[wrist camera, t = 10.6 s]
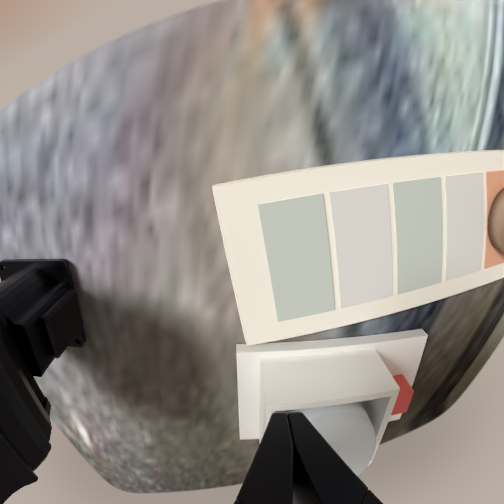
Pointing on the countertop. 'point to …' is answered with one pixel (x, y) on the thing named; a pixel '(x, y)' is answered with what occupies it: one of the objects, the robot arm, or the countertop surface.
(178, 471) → the countertop surface
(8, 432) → the robot arm
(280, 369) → the base
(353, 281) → the game track
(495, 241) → the pawn
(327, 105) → the countertop surface
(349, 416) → the dome
